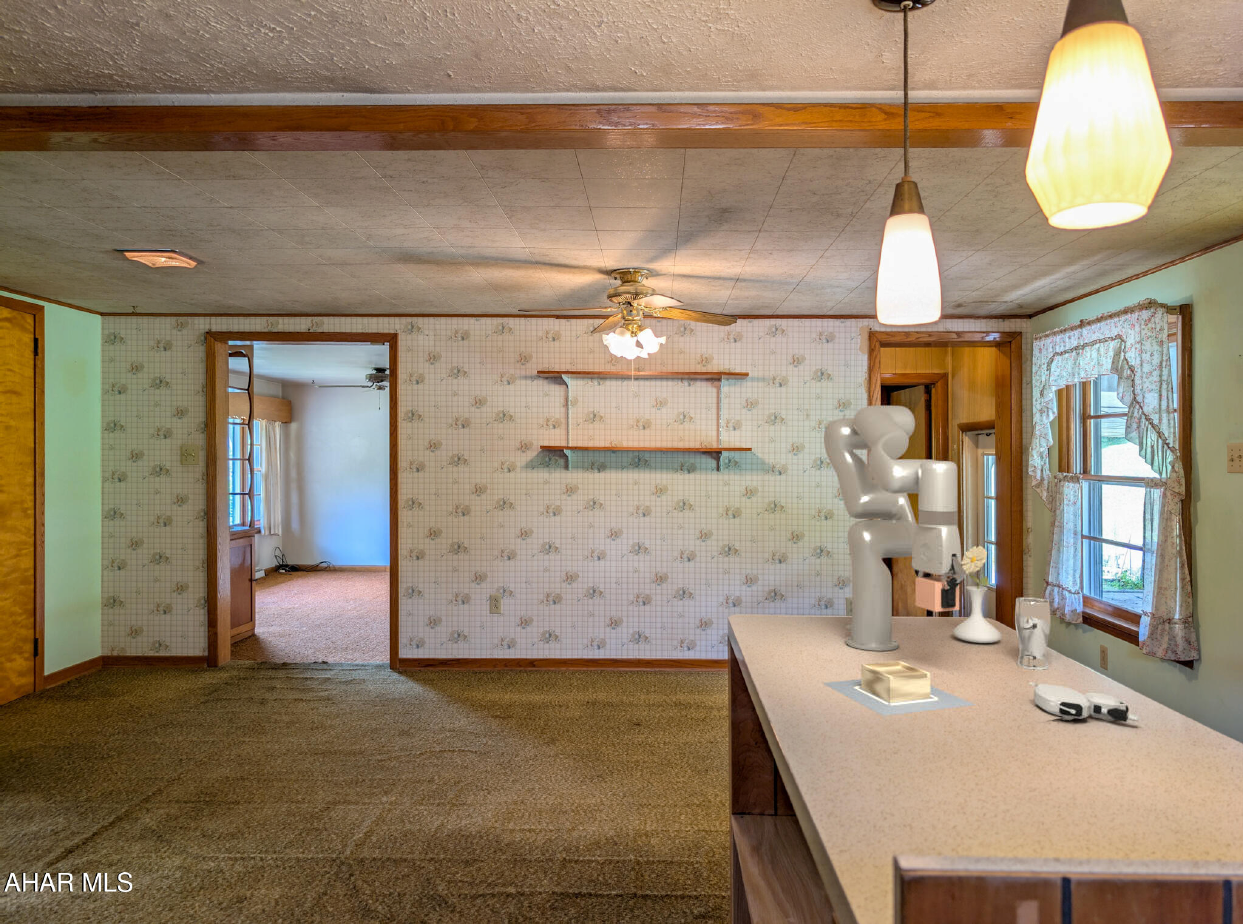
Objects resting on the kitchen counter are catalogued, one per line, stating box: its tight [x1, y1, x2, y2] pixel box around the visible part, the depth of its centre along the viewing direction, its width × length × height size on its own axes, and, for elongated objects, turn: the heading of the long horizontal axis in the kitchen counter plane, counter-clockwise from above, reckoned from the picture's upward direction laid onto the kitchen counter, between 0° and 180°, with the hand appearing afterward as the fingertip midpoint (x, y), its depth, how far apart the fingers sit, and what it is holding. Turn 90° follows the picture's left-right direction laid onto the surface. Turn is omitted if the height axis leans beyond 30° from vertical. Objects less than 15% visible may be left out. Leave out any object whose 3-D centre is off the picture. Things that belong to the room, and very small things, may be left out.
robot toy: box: [1029, 682, 1140, 723], centre depth 131 cm, size 12×4×15 cm
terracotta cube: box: [915, 575, 960, 613], centre depth 153 cm, size 6×6×6 cm
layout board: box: [822, 678, 976, 717], centre depth 141 cm, size 20×20×1 cm
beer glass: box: [1014, 596, 1052, 671], centre depth 163 cm, size 7×7×15 cm
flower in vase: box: [952, 545, 1003, 644], centre depth 186 cm, size 13×11×25 cm
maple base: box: [860, 660, 931, 703], centre depth 141 cm, size 9×9×5 cm
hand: (937, 603), depth 153 cm, fingers closed on terracotta cube, 6 cm apart
